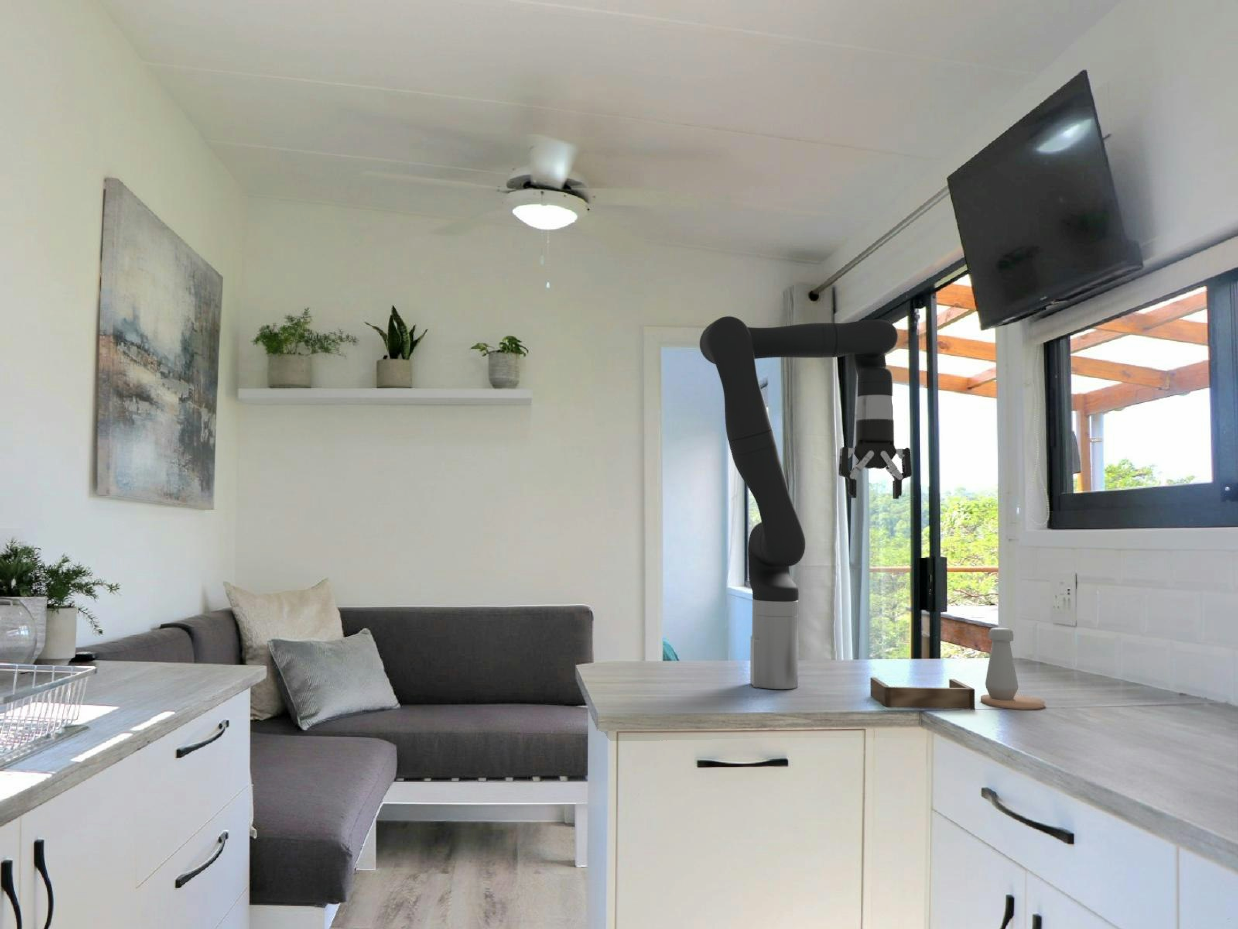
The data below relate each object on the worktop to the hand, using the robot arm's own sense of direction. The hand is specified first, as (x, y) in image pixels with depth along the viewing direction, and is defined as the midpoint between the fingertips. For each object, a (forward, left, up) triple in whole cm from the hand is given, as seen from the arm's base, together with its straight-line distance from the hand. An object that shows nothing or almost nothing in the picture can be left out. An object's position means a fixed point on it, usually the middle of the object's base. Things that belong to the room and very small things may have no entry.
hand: (874, 498), depth 193 cm
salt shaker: (+20, -13, -38) cm, 45 cm away
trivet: (+22, -14, -38) cm, 46 cm away
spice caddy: (+5, -14, -38) cm, 41 cm away
